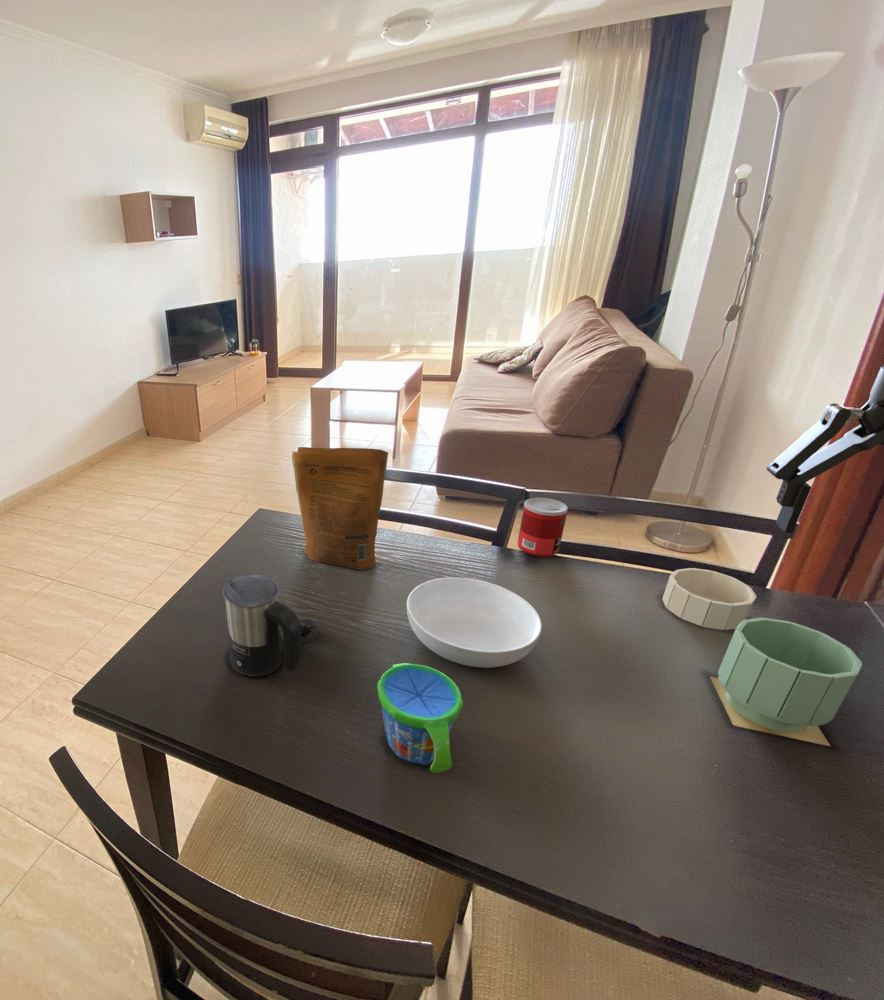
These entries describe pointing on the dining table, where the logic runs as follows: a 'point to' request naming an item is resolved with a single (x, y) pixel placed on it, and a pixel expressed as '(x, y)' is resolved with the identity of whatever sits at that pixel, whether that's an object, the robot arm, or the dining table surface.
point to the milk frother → (263, 627)
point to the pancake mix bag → (340, 503)
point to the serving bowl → (473, 621)
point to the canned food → (542, 526)
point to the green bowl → (786, 674)
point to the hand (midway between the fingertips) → (855, 534)
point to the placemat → (808, 734)
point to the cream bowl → (708, 598)
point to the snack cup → (419, 713)
